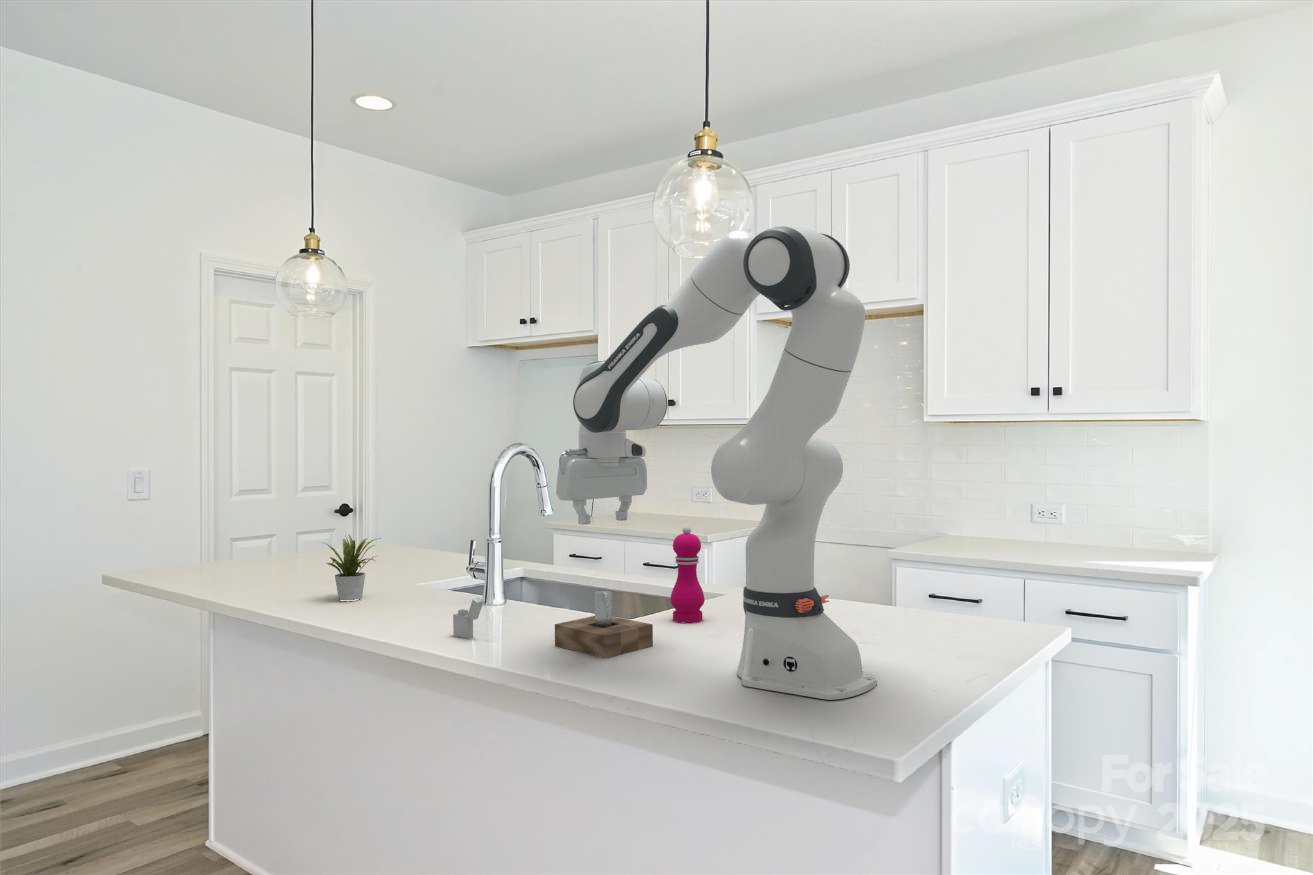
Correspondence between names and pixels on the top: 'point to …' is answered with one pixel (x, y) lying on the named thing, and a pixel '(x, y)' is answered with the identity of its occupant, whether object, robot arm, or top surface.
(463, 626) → the lighter
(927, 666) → the top surface
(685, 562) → the pepper mill
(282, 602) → the top surface
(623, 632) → the walnut hole block
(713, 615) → the top surface
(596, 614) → the steel peg
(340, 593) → the house plant
